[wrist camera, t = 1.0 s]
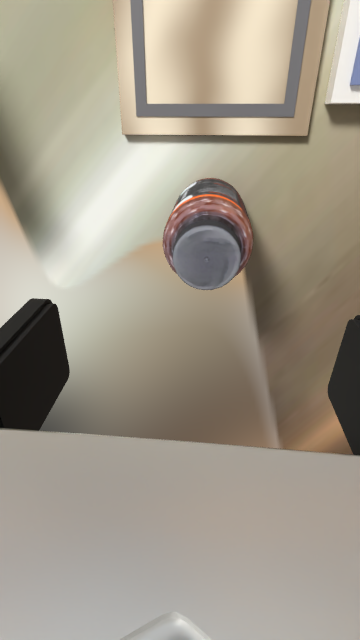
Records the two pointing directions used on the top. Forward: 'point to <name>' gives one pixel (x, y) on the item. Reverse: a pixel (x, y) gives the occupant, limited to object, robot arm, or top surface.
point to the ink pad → (346, 58)
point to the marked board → (218, 65)
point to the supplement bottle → (208, 234)
